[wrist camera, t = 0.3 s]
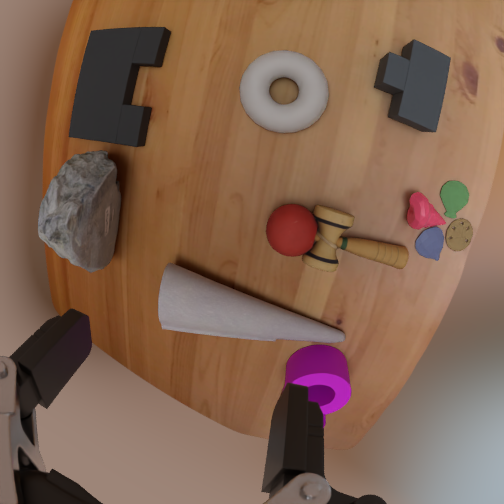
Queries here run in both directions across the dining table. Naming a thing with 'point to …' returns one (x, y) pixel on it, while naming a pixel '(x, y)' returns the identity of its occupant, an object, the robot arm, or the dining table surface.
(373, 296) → the dining table surface
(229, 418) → the dining table surface
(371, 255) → the kendama
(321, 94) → the donut
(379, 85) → the grey pad
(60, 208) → the decorative rock
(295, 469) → the robot arm
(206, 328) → the grey hollow cone
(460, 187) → the toy pieces
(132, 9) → the dining table surface
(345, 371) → the tape dispenser
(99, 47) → the black pad
